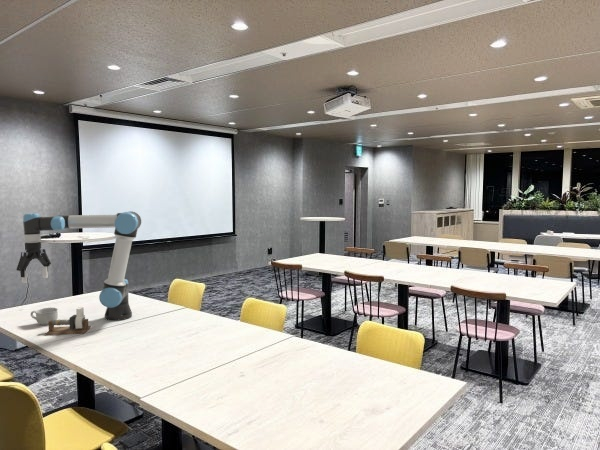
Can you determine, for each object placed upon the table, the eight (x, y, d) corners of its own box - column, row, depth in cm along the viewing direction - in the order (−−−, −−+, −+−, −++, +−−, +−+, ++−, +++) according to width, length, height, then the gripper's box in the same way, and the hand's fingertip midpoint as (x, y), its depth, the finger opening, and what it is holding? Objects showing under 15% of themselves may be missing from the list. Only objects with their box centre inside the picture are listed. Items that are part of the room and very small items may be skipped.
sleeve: (85, 325, 234) (84, 306, 233) (81, 328, 228) (80, 309, 228) (79, 325, 234) (79, 306, 233) (75, 328, 228) (74, 309, 227)
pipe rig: (91, 327, 237) (90, 315, 237) (83, 333, 226) (83, 321, 226) (54, 328, 235) (54, 317, 234) (45, 335, 224) (44, 323, 223)
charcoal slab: (77, 325, 234) (77, 314, 233) (72, 329, 228) (72, 317, 227) (74, 325, 234) (74, 314, 233) (69, 329, 227) (69, 317, 227)
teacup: (62, 321, 248) (61, 307, 248) (49, 327, 238) (49, 312, 237) (39, 320, 250) (39, 307, 249) (26, 326, 239) (25, 312, 238)
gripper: (45, 239, 245) (47, 275, 247) (6, 244, 221) (9, 285, 223) (56, 239, 244) (58, 276, 245) (18, 244, 219) (21, 285, 221)
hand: (35, 280), depth 234 cm, fingers open, 13 cm apart
